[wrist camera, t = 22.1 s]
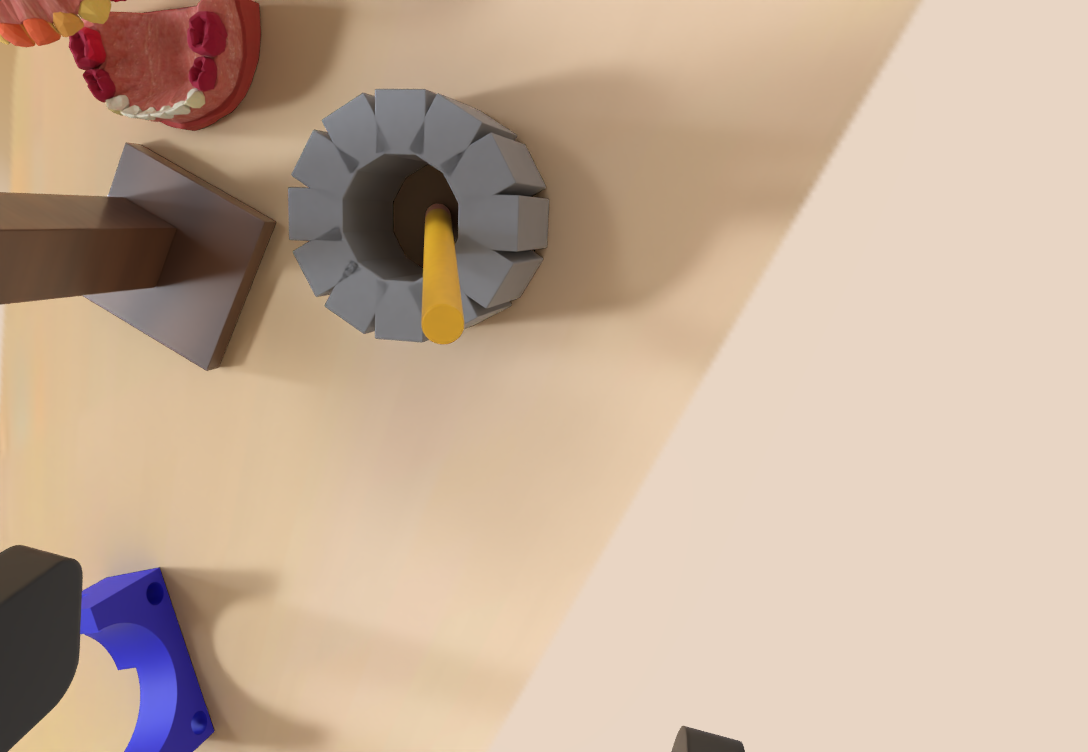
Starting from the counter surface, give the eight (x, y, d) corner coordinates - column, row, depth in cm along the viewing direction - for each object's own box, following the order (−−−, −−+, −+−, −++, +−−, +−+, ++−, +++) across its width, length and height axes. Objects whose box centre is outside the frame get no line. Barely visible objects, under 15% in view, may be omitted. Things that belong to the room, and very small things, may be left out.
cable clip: (106, 577, 56) (32, 618, 50) (159, 567, 55) (90, 607, 49) (161, 737, 57) (95, 795, 51) (214, 731, 56) (153, 789, 50)
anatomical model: (116, 166, 49) (-142, 4, 35) (133, 48, 51) (-107, -152, 36) (274, 148, 47) (66, -34, 32) (285, 25, 48) (93, -199, 34)
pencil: (446, 231, 46) (422, 223, 45) (454, 208, 45) (429, 199, 45) (457, 350, 27) (415, 337, 27) (470, 311, 27) (428, 298, 26)
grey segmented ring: (343, 105, 46) (285, 88, 40) (552, 107, 43) (522, 89, 37) (345, 318, 48) (290, 331, 42) (544, 333, 45) (514, 349, 40)
